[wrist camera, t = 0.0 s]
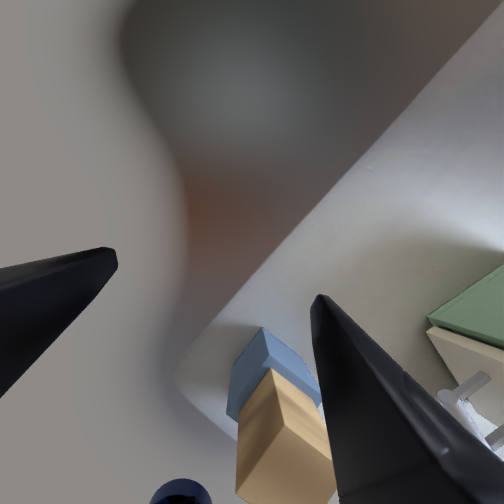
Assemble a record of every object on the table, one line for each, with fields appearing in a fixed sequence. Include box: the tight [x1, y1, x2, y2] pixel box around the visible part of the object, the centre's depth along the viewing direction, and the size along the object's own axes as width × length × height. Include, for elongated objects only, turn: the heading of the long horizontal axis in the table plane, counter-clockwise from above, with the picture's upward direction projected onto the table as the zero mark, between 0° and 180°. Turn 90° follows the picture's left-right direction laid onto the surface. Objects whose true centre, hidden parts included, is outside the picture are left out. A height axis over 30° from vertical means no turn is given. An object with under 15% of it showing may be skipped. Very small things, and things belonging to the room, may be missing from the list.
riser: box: [226, 327, 322, 423], centre depth 17 cm, size 6×6×6 cm
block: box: [235, 368, 337, 504], centre depth 12 cm, size 4×4×5 cm
